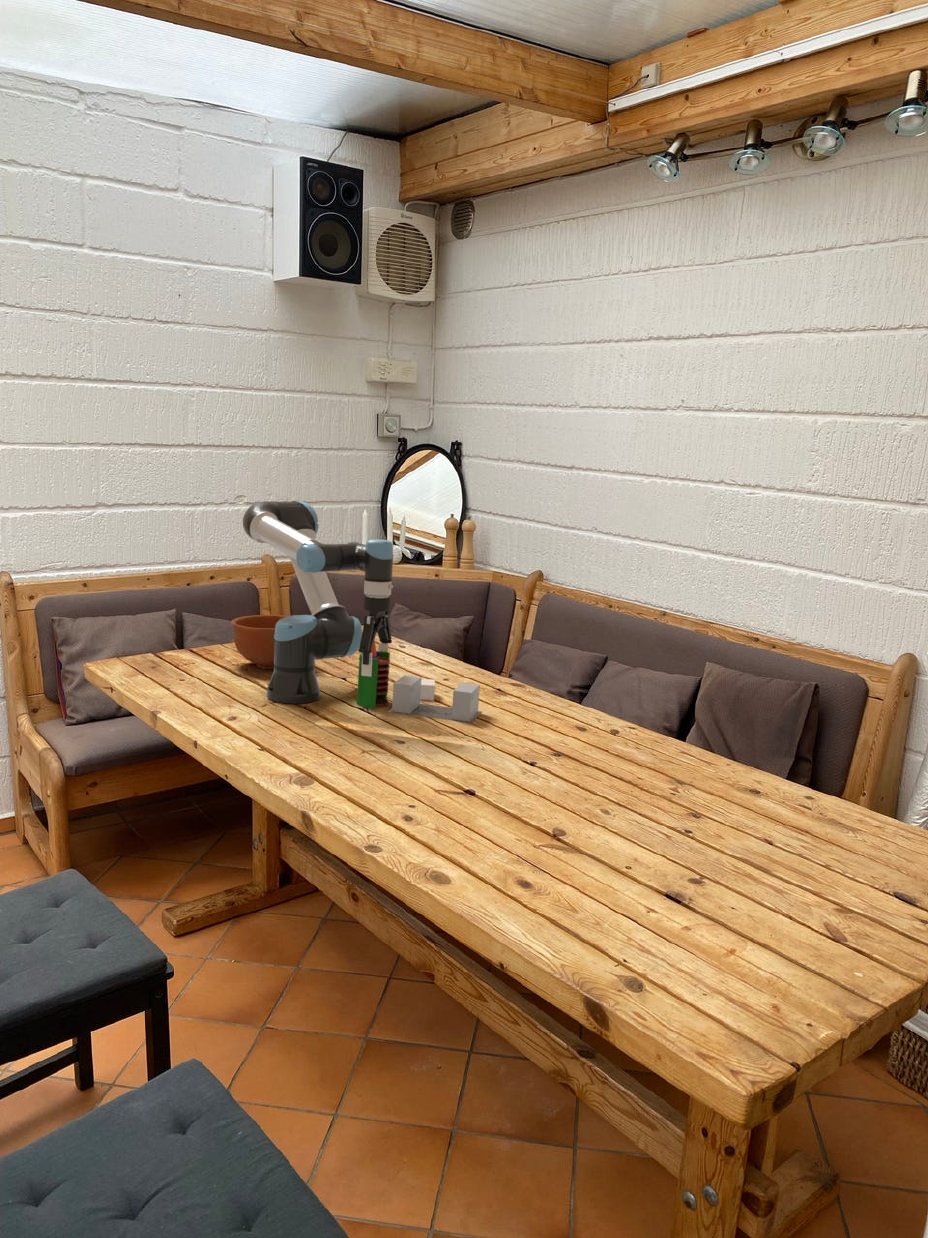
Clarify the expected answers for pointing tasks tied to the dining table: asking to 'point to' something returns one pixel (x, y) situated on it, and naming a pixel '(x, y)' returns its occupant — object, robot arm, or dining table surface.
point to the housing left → (406, 694)
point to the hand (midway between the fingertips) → (374, 670)
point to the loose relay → (427, 689)
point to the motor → (374, 680)
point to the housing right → (465, 701)
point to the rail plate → (435, 712)
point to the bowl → (256, 638)
